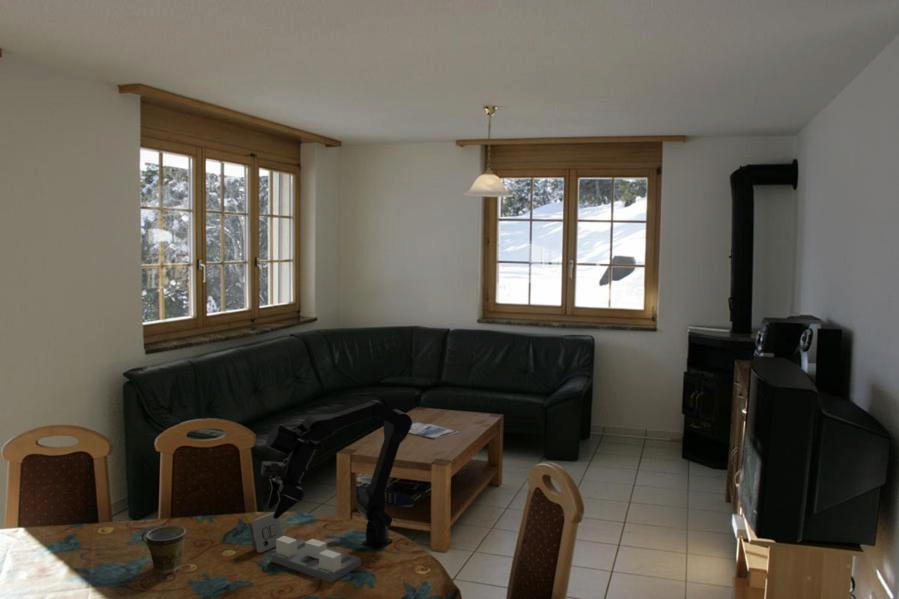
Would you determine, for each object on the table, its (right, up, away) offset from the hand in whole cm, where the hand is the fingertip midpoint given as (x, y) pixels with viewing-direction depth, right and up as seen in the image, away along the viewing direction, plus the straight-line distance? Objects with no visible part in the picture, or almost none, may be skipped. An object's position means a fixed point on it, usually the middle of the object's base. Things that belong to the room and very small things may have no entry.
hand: (271, 513), depth 206 cm
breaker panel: (+11, -15, +3) cm, 19 cm away
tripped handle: (+11, -12, +3) cm, 17 cm away
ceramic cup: (-30, -15, 0) cm, 33 cm away
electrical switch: (-5, -14, +14) cm, 20 cm away
